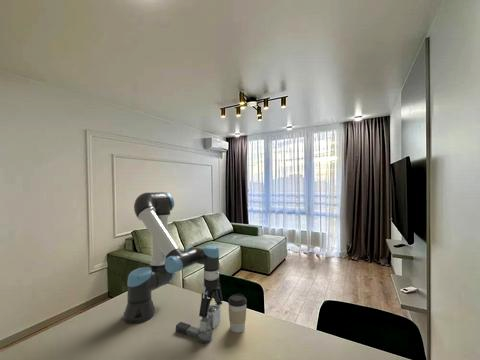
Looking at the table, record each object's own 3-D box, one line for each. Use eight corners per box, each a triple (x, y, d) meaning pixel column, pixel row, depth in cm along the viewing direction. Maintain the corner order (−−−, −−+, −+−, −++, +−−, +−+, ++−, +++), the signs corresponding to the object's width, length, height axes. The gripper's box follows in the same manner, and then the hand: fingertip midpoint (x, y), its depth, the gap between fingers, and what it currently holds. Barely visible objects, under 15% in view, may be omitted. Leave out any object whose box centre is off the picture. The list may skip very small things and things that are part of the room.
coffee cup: (245, 335, 103) (244, 302, 103) (225, 333, 105) (225, 300, 105) (248, 323, 112) (248, 293, 112) (230, 321, 114) (230, 291, 114)
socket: (202, 325, 111) (202, 309, 111) (209, 318, 116) (209, 303, 117) (213, 328, 108) (213, 312, 108) (220, 321, 114) (220, 305, 114)
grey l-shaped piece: (214, 337, 102) (214, 318, 102) (206, 345, 96) (206, 325, 97) (182, 326, 110) (182, 308, 110) (173, 333, 105) (173, 314, 105)
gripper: (204, 288, 101) (204, 339, 100) (229, 271, 121) (229, 313, 121) (191, 285, 104) (191, 334, 104) (217, 269, 125) (217, 310, 124)
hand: (211, 323), depth 112 cm, fingers open, 10 cm apart
